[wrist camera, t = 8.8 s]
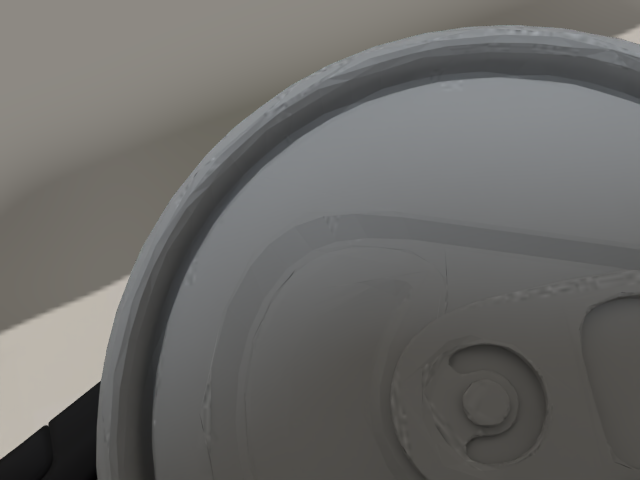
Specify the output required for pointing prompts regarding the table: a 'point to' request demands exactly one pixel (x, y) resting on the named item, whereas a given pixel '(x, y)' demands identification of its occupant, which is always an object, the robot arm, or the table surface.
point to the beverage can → (398, 276)
